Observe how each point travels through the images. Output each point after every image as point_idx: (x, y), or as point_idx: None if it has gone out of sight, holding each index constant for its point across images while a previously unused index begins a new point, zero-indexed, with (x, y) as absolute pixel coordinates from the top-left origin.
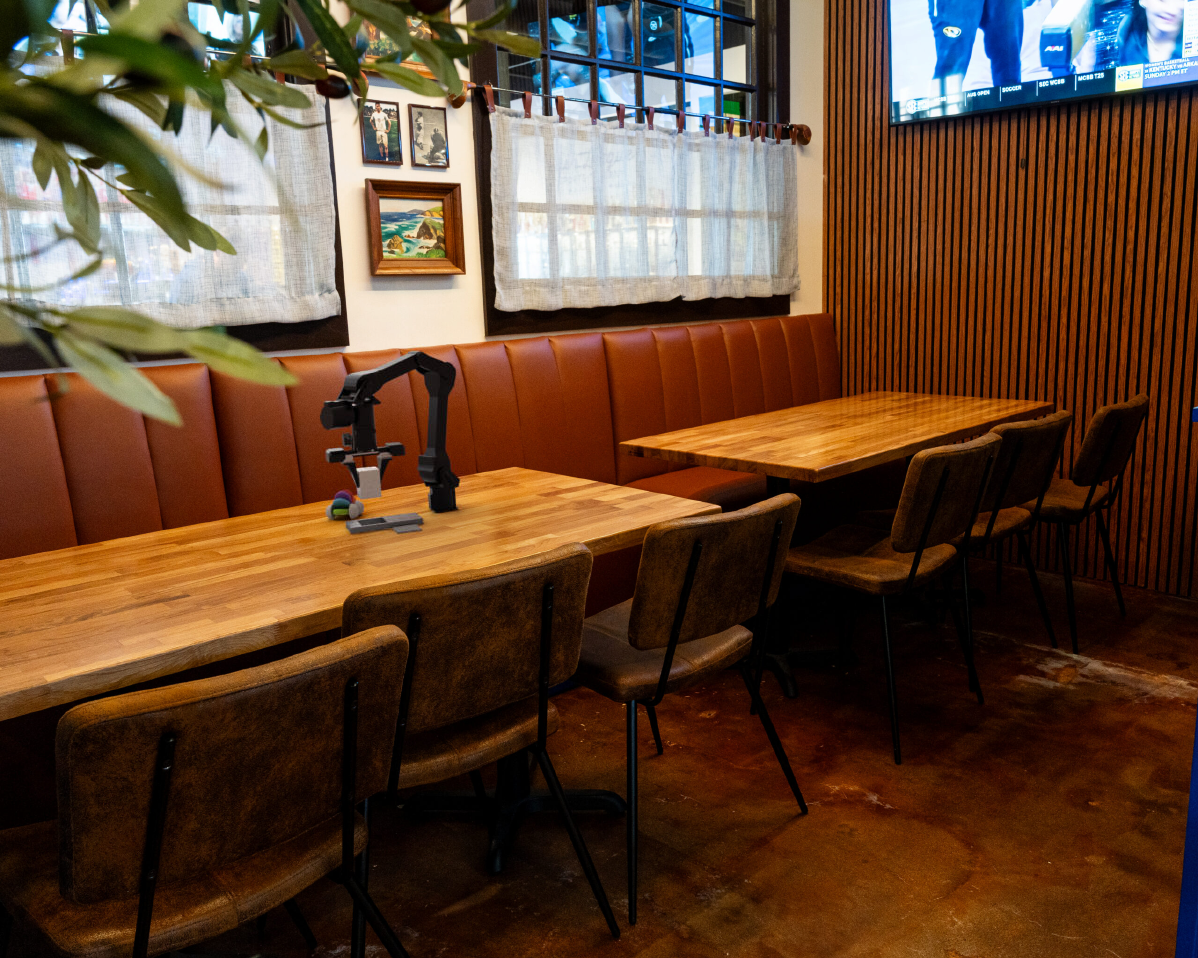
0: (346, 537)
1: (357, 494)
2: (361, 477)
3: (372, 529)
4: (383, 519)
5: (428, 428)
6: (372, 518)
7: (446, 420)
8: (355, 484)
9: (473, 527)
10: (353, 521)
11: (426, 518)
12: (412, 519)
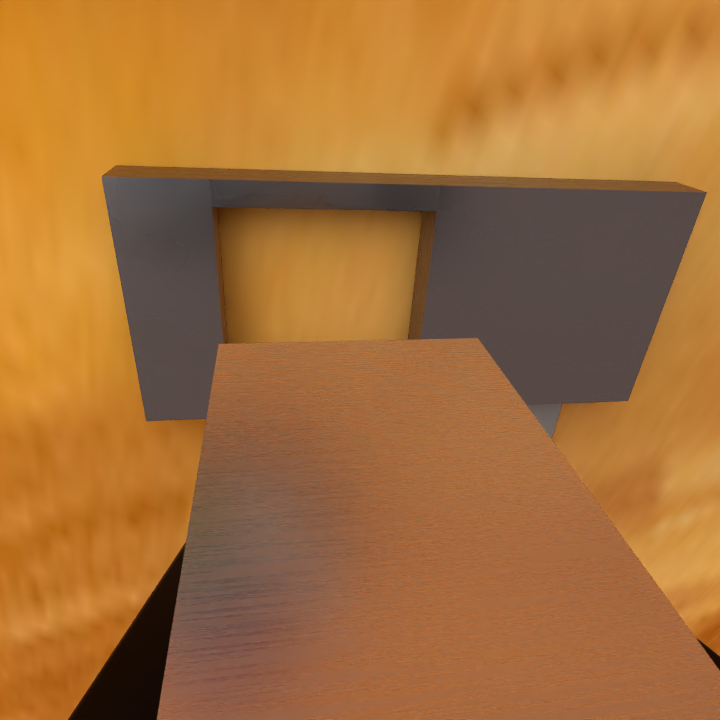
0: (118, 458)
1: (217, 359)
2: None
3: None
4: (428, 248)
5: None
6: (354, 205)
7: None
8: (169, 573)
9: (715, 538)
10: (180, 225)
11: (710, 242)
12: (568, 397)
